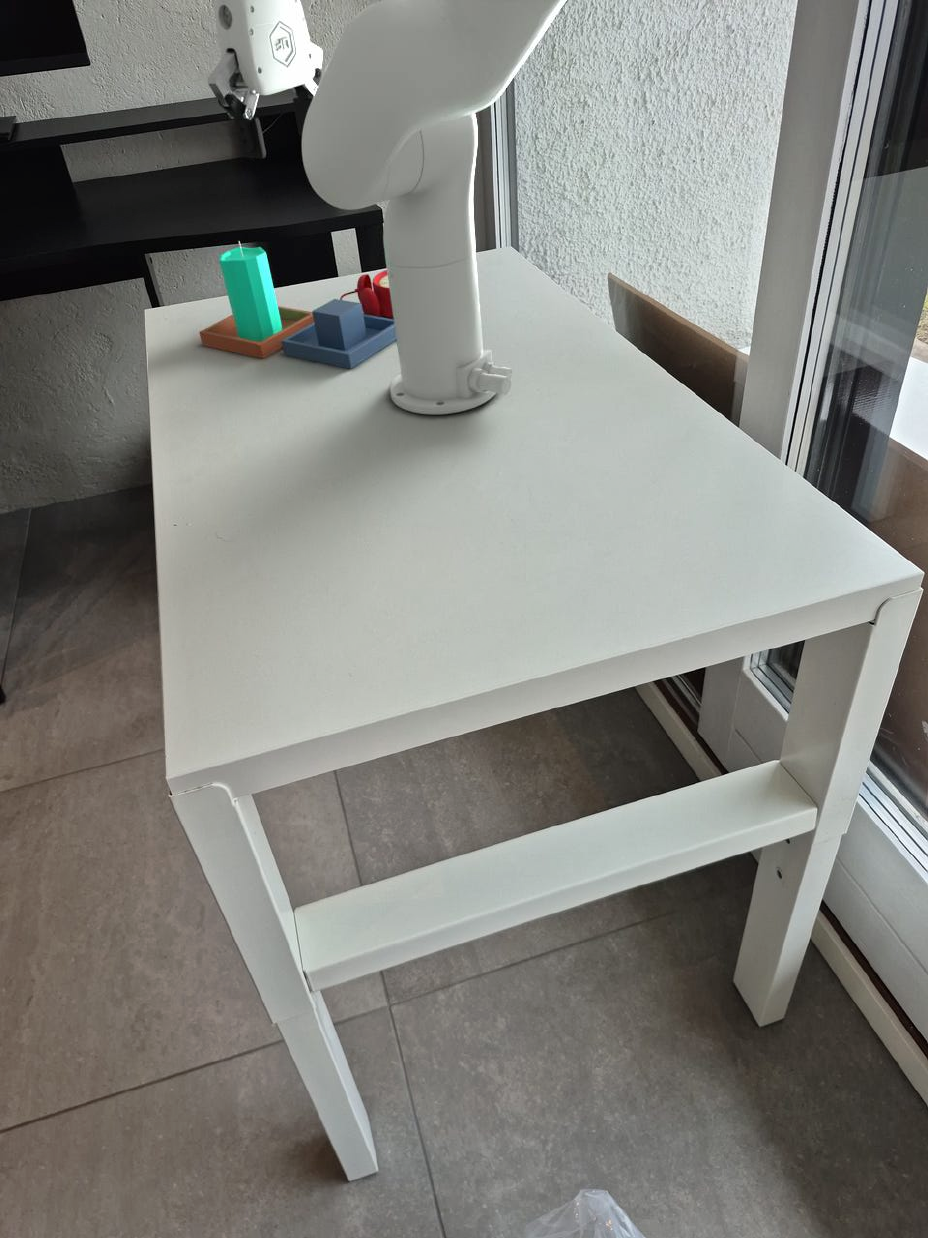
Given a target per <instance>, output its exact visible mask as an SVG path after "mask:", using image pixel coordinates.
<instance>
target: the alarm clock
mask: <svg viewBox="0 0 928 1238" xmlns="http://www.w3.org/2000/svg"><path fill="white" fill-rule="evenodd" d="M356 293H357V298H358V301H359V303H361V304H362V311H363V314H365V315H371V316H377V317H383V318H388V319H394V318H393V311H392V303H391V296H390V289H389V282H388V275H387V269H385V270H383V271H381V272H379V273H377V274H375V276H374V277H373V278H372V279H371V276H370V275H369V274H368V273H364V274H362V275H360V276H359V278H358V280H357V284H356V288H355V289H354V290H353V291H349V292H347V293H343V294H342V295H341V296H340V298H339V300H343V298H344V297H346V296H349V295H352V294H356Z"/></svg>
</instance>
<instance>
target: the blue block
mask: <svg viewBox="0 0 928 1238" xmlns="http://www.w3.org/2000/svg"><path fill="white" fill-rule="evenodd" d="M311 312H312V313H313V318H314V324H315V329H316V334H317V339H318V344H319V345H320V346H325V347H330V348H335V349H340V350H347V349H349V348H350V347H352V346H353V345H355V344H357V343H358V342H360V341H362V340H363V339H365V338H366V337H367V336H366V329H365V323H364V317H363V314H364V313H363V311H362V304H361V303H360V302H355V301H349V300H345V299H342V300H340V299H338V298H334V299H332V300H329V301H328V302H326V303H324V304H322V305H320V306H318V307H317V308H315V309H314V310H312V311H311Z"/></svg>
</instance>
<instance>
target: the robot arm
mask: <svg viewBox="0 0 928 1238" xmlns="http://www.w3.org/2000/svg"><path fill="white" fill-rule="evenodd" d="M566 1H567V0H380V1H379V0H378V1H376V2H373V3H372V4H370V5H367V6H366V7H365V8H363V9H362V10H360V11H359V12H358V13H357V14H355V16H354V17H353V18H352V19H351V20H349V22H348V23H347V25H346V26H345V27H344V29H343V31H342V33H341V35H340V36H339V39H338V41H337V43H336V45H335V47H334V50H333V52H332V54H331V56H330V58H329V61H328V63H327V65H326V67H325V70H324V72H323V75H322V70H321V69H322V65H323V54H324V53H323V52H324V51H323V50H322V48H321V47H319V46H317V45H316V44H314V43H312V42H311V38H310V33H309V30H308V26H307V20H306V18H305V14H304V9H303V5H302V2H301V0H213V7H214V8H213V10H214V17H215V27H216V35H217V41H218V46H219V47H218V48H219V52H220V57H221V59H220V61H219V62H218V64H217V65H216V66H215V68H214V69H213V71H212V72H211V73H210V75H209V76H208V77H207V84H208V86H209V89H210V90H211V91H212V94H214V96H215V98H216V99H217V102H218V105H219V106H220V107H221V108H222V109H224V111H226V112H227V115H228V118H230V119H232V120H234V124H235V129H236V133H237V137H238V142H239V147H240V151H241V155H242V156H243V158H247V159H261V160H262V159H264V158H266V155H267V150H266V147H265V142H264V137H263V136H264V135H263V132H262V126H261V122H260V120H259V117H254V115H255V112H256V109H257V108H256V107H257V105H258V104H257V103H258V100H259V96H270V95H274V94H276V93H280V92H283V91H286V90H291V91H292V92H293V93H294V95H295V96H296V97H293V98H292V104H293V110H294V114H295V121H296V126H297V131H298V135H299V136H300V137H301V157H302V163H303V169H304V171H305V174H306V177H307V179H308V182H309V184H310V185H311V187H312V189H313V190H314V192H315V193H316V194H317V196H319V197H320V198H321V199H322V200H323V201H325V202H326V203H327V204H328V205H330V206H332V207H335V208H338V209H341V210H348V211H352V210H359V209H364V208H367V207H372V206H374V205H377V204H381V203H383V202H387V201H388V202H387V206H386V211H385V215H384V219H383V220H384V221H383V231H382V240H383V250H384V259H385V266H386V270H387V275H388V282H389V289H390V296H391V303H392V311H393V318H392V319H394V325H395V332H396V339H397V340H396V346H397V354H398V360H399V368H400V372H399V373H398V374H397V375H396V376H395V377H393V379H392V380H391V382H390V384H389V393H390V398H391V401H392V402H393V403H394V404H395V405H396V406H398V407H399V408H401V409H403V410H405V411H408V412H411V413H415V414H421V415H430V416H431V415H432V416H433V415H434V416H435V415H437V416H438V415H449V414H450V415H451V414H456V413H462V412H466V411H469V410H472V409H474V408H477V407H480V406H481V405H483V404H485V403H487V402H488V401H490V400H491V399H492V398H493V397H494V396H496V394H500V395H504V396H506V395H508V393H509V392H510V390H511V385H512V380H511V379H512V375H513V371H512V368H510V367H505V366H496V365H495V364H494V363H493V355H492V350H491V349H486V348H484V346H483V345H484V341H483V329H482V318H481V305H480V303H481V302H480V291H479V280H478V279H479V278H478V266H477V265H478V264H477V251H476V248H477V247H476V236H475V235H476V234H475V219H474V181H475V171H476V170H475V169H476V160H477V152H478V151H477V150H478V123H477V122H478V121H477V117H476V116H477V115H476V113H478V112H481V111H483V110H485V109H487V108H488V107H490V106H491V105H493V104H494V103H495V102H496V101H497V100H498V99H499V98H500V97H501V95H502V94H503V93H504V92H505V90H506V88H507V87H508V86H509V84H510V83H511V81H512V80H513V78H514V77H515V76H516V74H517V73H518V71H519V70H520V68H521V67H522V65H523V64H524V63H525V61H526V60H527V59H528V57H529V55H530V54H531V53H532V51H533V50H534V48H536V46H537V44H538V42H539V41H540V40H541V39H542V37H543V36H544V34H545V33H546V31H547V30H548V28H549V27H550V25H551V23H552V22H553V21H554V19H555V17H556V16H557V14H558V13H559V11H560V10H561V8H562V7H563V6H564V4H565V3H566Z"/></svg>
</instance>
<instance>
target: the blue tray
mask: <svg viewBox="0 0 928 1238" xmlns="http://www.w3.org/2000/svg"><path fill="white" fill-rule="evenodd" d="M363 317H364V323H365V329H366V336H367V337H366V338H365V339H363V340H362V341H360V342H358V343H357V344H355V345H353V346H352V347H350V348H349V349H347V350H340V349H335V348H330V347H325V346H320V345H319V344H318V339H317V334H316V329H315V324H314V322H313V323H312V324H310V325H308V326H306V327H305V328H303V329H301V330H299V331H298V332H296V333H294V334H292V335H290V336H289V337H287V338H285V339H283V340H282V341H281V343H282V351H283V355H284V356H288V357H293V358H296V359H297V358H298V359H302V360H307V361H312V362H317V363H321V364H326V365H331V366H336V367H340V368H344V369H350V370H351V369H353V368H356V367H357V366H359V364H361V363H363V362H365V361H366V360H367V359H369V358H370V357H372V356H374V355H376V353H378V352H379V351H382V350H383V349H384V348H386V347H388V346H389V345H391V344H393V343H394V342H396V341H397V339H396V332H395V325H394V318H389V317H383V316H380V317H377V316H371V315H365V314H364V313H363Z"/></svg>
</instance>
